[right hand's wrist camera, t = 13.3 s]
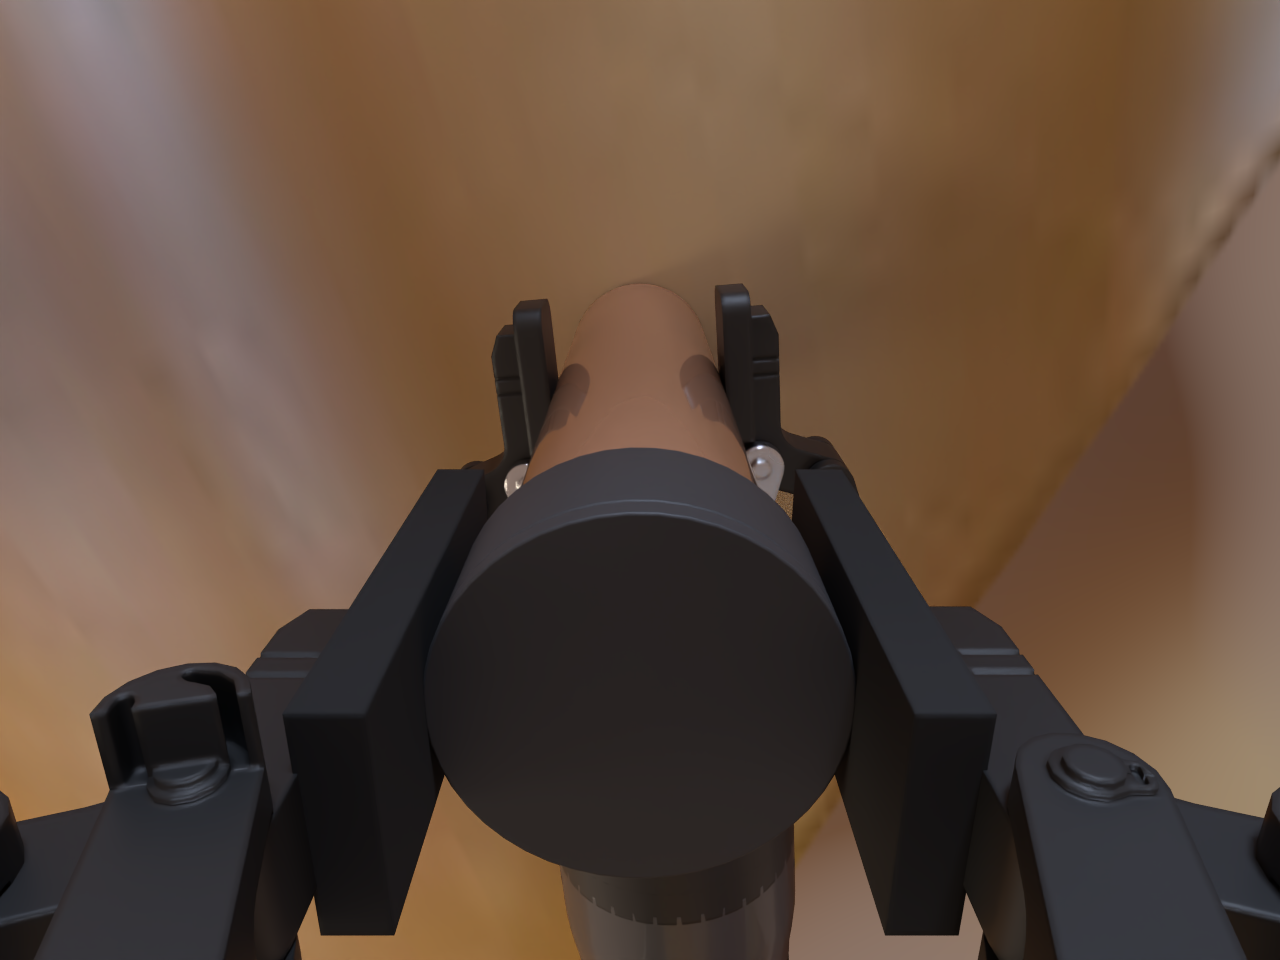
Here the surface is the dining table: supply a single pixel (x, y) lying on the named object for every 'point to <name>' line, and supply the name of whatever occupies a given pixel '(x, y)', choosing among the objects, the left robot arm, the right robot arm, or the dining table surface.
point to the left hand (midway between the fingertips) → (629, 299)
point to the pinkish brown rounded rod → (639, 386)
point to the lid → (639, 668)
